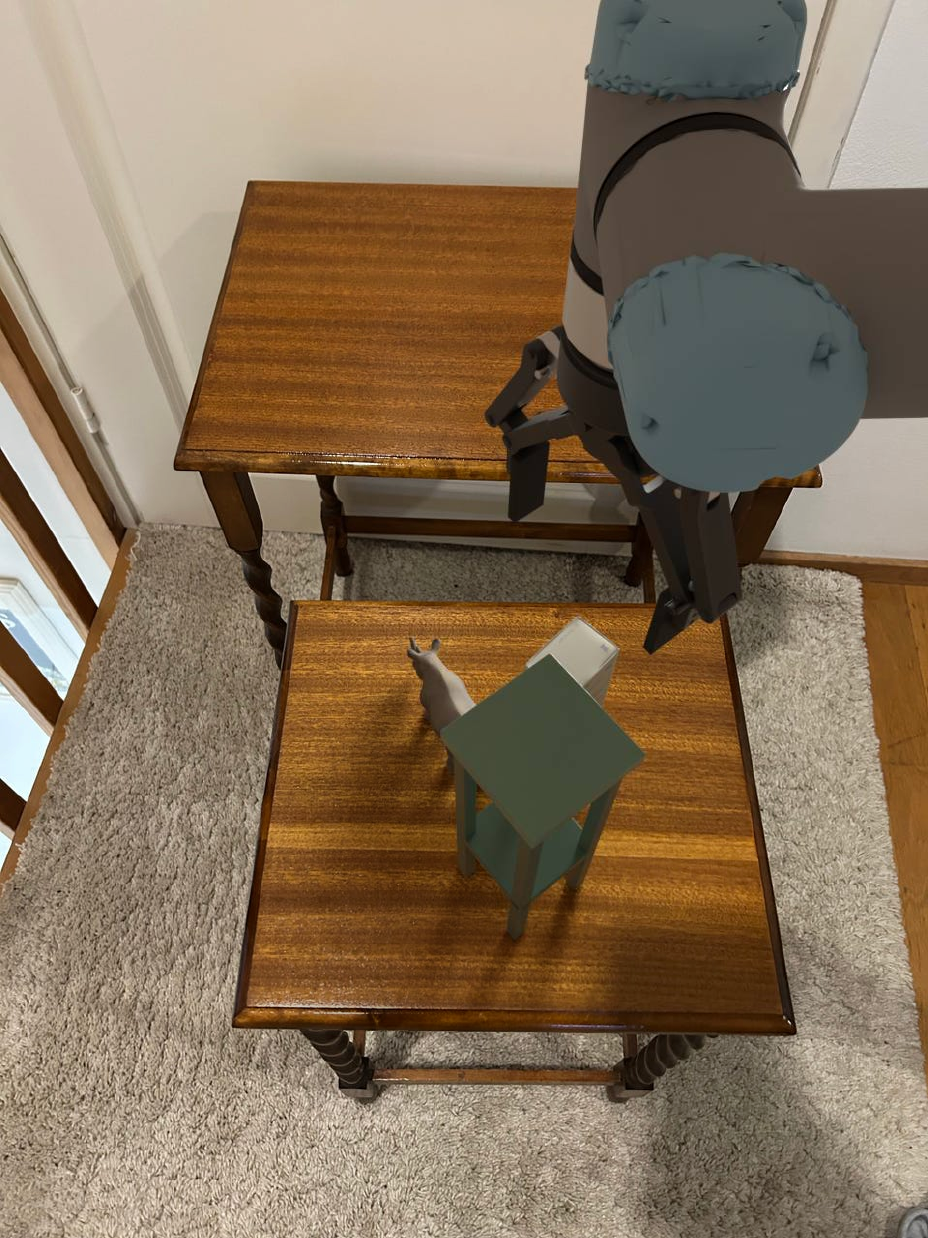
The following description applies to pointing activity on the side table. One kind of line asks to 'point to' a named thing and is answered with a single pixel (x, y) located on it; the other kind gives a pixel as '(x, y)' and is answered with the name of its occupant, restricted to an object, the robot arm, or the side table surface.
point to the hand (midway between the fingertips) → (590, 572)
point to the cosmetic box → (583, 656)
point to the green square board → (541, 749)
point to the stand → (524, 848)
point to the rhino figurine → (439, 691)
